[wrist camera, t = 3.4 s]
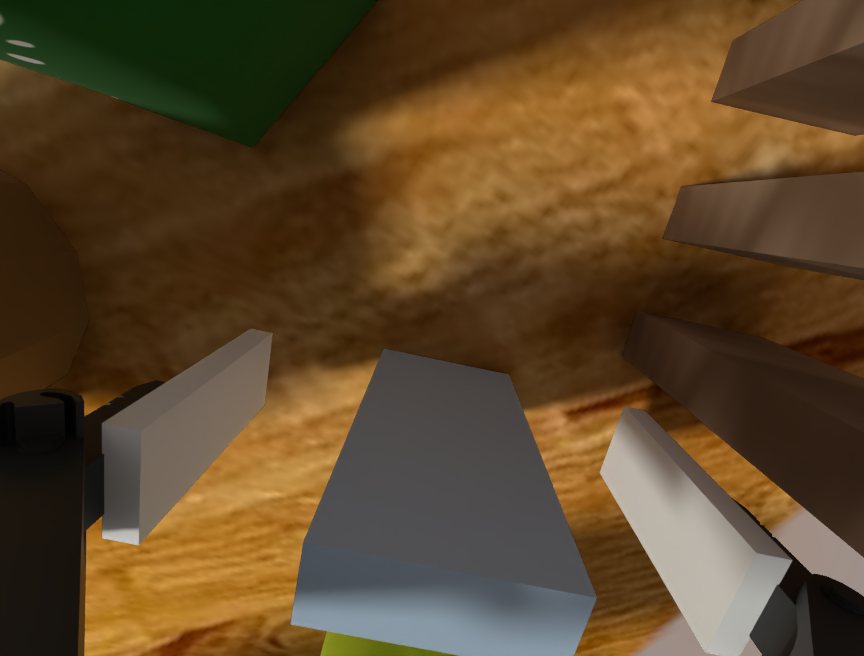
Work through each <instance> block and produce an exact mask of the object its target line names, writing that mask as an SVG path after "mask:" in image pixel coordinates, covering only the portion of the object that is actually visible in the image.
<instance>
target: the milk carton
mask: <svg viewBox="0 0 864 656" xmlns="http://www.w3.org/2000/svg"><path fill="white" fill-rule="evenodd" d="M377 1H378V0H0V59H1V60H4V61H7V62H10V63H13V64H16V65H19V66H22V67H25V68H28V69H31V70H34V71H37V72H40V73H43V74H46V75H49V76H52V77H55V78H58V79H61V80H64V81H67V82H70V83H73V84H76V85H79V86H82V87H85V88H88V89H91V90H94V91H97V92H100V93H103V94H105V95H108V96H111V97H114V98H117V99H119V100H122V101H125V102H128V103H130V104H133V105H136V106H138V107H141V108H144V109H147V110H149V111H152V112H155V113H158V114H161V115H163V116H166V117H169V118H172V119H174V120H177V121H180V122H183V123H186V124H188V125H191V126H194V127H197V128H199V129H202V130H205V131H208V132H210V133H213V134H216V135H219V136H222V137H224V138H227V139H230V140H233V141H236V142H238V143H241V144H244V145H247V146H249V147H254V145H255V144H256V143H257V142H258V141H259V140H260V138H261V137H262V136H263V135H264V134H265V133H266V131H267V130H268V129H269V128H270V127H271V125H272V124H273V123H274V122H275V121H276V120H277V118H278V117H279V116H280V115H281V114H282V113H283V111H284V110H285V109H286V108H287V107H288V105H289V104H290V103H291V102H292V101H293V100H294V98H295V97H296V96H297V95H298V94H299V93H300V91H301V90H302V89H303V88H304V87H305V85H306V84H307V83H308V82H309V81H310V80H311V78H312V77H313V76H314V75H315V74H316V73H317V71H318V70H319V69H320V68H321V67H322V65H323V64H324V63H325V62H326V61H327V60H328V58H329V57H330V56H331V55H332V54H333V53H334V51H335V50H336V49H337V48H338V47H339V45H340V44H341V43H342V42H343V41H344V40H345V38H346V37H347V36H348V35H349V34H350V33H351V31H352V30H353V29H354V28H355V27H356V25H357V24H358V23H359V22H360V21H361V20H362V18H363V17H364V16H365V15H366V14H367V13H368V11H369V10H370V9H371V8H372V7H373V5H374V4H375V3H376V2H377Z"/></svg>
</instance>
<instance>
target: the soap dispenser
mask: <svg viewBox="0 0 864 656" xmlns="http://www.w3.org/2000/svg"><path fill="white" fill-rule="evenodd" d="M320 656H459V655H453V654H448V653H443V652H437V651H432V650H426V649H421V648H415V647H410V646H405V645H399V644H394V643H388V642H383V641H377V640H372V639H367V638H361V637H356V636H350V635H345V634H339V633H334V632H329V631H327V632H326V636H325V640H324V643H323V647H322V651H321V654H320Z"/></svg>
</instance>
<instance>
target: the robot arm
mask: <svg viewBox="0 0 864 656" xmlns="http://www.w3.org/2000/svg"><path fill="white" fill-rule="evenodd" d="M272 335H273V333H270V332H265V331H260V330H255V329H249V330H247V331H246V332H244V333H243V334H241V335H240V336H238V337H236V338H235V339H233V340H232V341H230V342H229V343H227V344H225V345H224V346H222V347H221V348H219V349H218V350H216V351H214V352H213V353H211V354H210V355H208V356H207V357H205V358H203V359H202V360H200V361H199V362H197V363H196V364H194V365H192V366H191V367H189V368H188V369H186V370H185V371H183V372H181V373H180V374H178V375H177V376H175V377H174V378H172V379H170V380H169V381H167V382H162V381H157V380H156V381H153V382H149V383H146V384H143V385H139V386H136V387H134V388H132V389H131V390H129V391H127V392H126V393H124V394H122V395H120V398H118V397H117V398H115V399H114V400H112V401H110V402H109V403H108V404H107V405H103V406H102V407H100V408H98V409H97V410H95V411H93V412H92V413H90V414H88V415H86V416H85V417H84V401H83V399H82V397H81V395H78V394H76V393H74V392H72V391H66V390H59V389H41V390H33V391H26V392H21V393H17V394H14V395H10V396H7V397H5V398H3V399H1V400H0V656H84V637H85V583H86V530H87V529H88V528H89V527H90V526H91V525H92V524H93V523H95V522H96V521H97V520H98V519H99V518H100V517H101V516H102V538H103V539H108V540H114V541H119V542H124V543H129V544H135V545H139V544H140V543H141V542H142V541H143V540H144V539H145V538H146V537H147V535H148V534H149V533H150V532H151V531H152V530H153V529H154V528H155V526H156V525H157V524H158V523H159V522H160V521H161V520H162V519H163V518H164V516H165V515H166V514H167V513H168V512H169V511H170V510H171V509H172V508H173V506H174V505H175V504H176V503H177V502H178V501H179V500H180V499H181V498H182V496H183V495H184V494H185V493H186V492H187V491H188V490H189V489H190V487H191V486H192V485H193V484H194V483H195V482H196V481H197V480H198V479H199V477H200V476H201V475H202V474H203V473H204V472H205V471H206V470H207V469H208V467H209V466H210V465H211V464H212V463H213V462H214V461H215V460H216V459H217V457H218V456H219V455H220V454H221V453H222V452H223V451H224V450H225V448H226V447H227V446H228V445H229V444H230V443H231V442H232V441H233V440H234V438H235V437H236V436H237V435H238V434H239V433H240V432H241V431H242V430H243V428H244V427H245V426H246V425H247V424H248V423H249V422H250V421H251V420H252V418H253V417H254V416H255V415H256V414H257V413H258V412H259V411H260V409H261V408H262V407H263V406H264V405H265V397H266V388H267V380H268V371H269V362H270V353H271V344H272ZM600 474H601V476H602V477H603V479H604V481H605V483H606V484H607V486H608V488H609V489H610V491H611V493H612V495H613V496H614V498H615V500H616V501H617V503H618V505H619V506H620V508H621V510H622V512H623V513H624V515H625V517H626V518H627V520H628V522H629V524H630V525H631V527H632V529H633V530H634V532H635V534H636V536H637V537H638V539H639V541H640V542H641V544H642V546H643V548H644V549H645V551H646V553H647V554H648V556H649V558H650V559H651V561H652V563H653V565H654V566H655V568H656V570H657V571H658V573H659V575H660V577H661V578H662V580H663V582H664V583H665V585H666V587H667V589H668V590H669V592H670V594H671V595H672V597H673V599H674V601H675V602H676V604H677V606H678V607H679V609H680V611H681V613H682V614H683V616H684V618H685V619H686V621H687V623H688V624H689V626H690V628H691V630H692V631H693V633H694V634H695V636H696V638H697V640H698V642H699V643H700V645H701V647H702V648H703V650H704V652H705V653H709V654H715V655H720V656H740V655H741V653H742V651H743V649H744V648H745V646H746V644H747V642H748V640H749V638H751V639H752V640H753V642H754V643H755V645H756V646H757V648H758V649H759V651H760V652H761V653H762V656H864V597H863V596H862V595H861V594H859V593H858V592H856V591H855V590H853V589H851V588H849V587H848V586H846V585H844V584H843V583H840V582H838V581H836V580H834V579H831V578H829V577H827V576H823V575H818V574H811V573H810V572H809V571H808V570H807V569H806V568H805V567H804V566H803V565H802V564H801V563H800V562H799V561H798V560H797V559H796V558H795V557H794V556H793V555H792V554H791V553H790V552H789V551H788V550H787V549H786V548H785V547H784V546H783V545H782V544H781V543H780V542H779V541H778V540H777V539H776V538H775V537H772V534H771V533H770V532H769V531H768V530H767V529H766V528H765V527H764V526H763V525H760V522H759V521H758V520H757V519H756V518H755V517H754V516H753V515H752V514H751V513H750V512H749V511H748V510H747V509H746V508H745V507H744V506H742V505H741V504H739V503H738V502H736V501H735V500H734V499H732V498H731V497H730V496H729V495H728V494H727V493H726V492H725V491H724V490H723V489H722V488H721V487H720V486H719V485H718V484H717V483H716V482H715V481H714V480H713V479H712V478H711V477H710V476H709V475H708V474H707V473H706V472H705V471H704V470H703V469H702V468H701V467H700V466H699V465H698V464H697V463H696V462H695V461H694V460H693V459H692V458H691V457H690V455H689V454H688V453H687V452H686V451H685V450H684V449H683V448H682V447H681V446H680V445H679V444H678V443H677V442H676V441H675V440H674V439H673V438H672V437H671V436H670V435H669V434H668V433H667V432H666V431H665V430H664V429H663V428H662V427H661V426H660V425H659V424H658V423H657V422H656V421H655V420H654V419H653V418H652V417H651V416H650V415H649V414H648V413H647V412H646V411H645V410H640V409H635V408H631V407H626V406H624V408H623V411H622V414H621V417H620V419H619V422H618V425H617V427H616V430H615V433H614V435H613V438H612V441H611V444H610V446H609V449H608V452H607V454H606V457H605V460H604V462H603V465H602V468H601V471H600Z"/></svg>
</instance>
